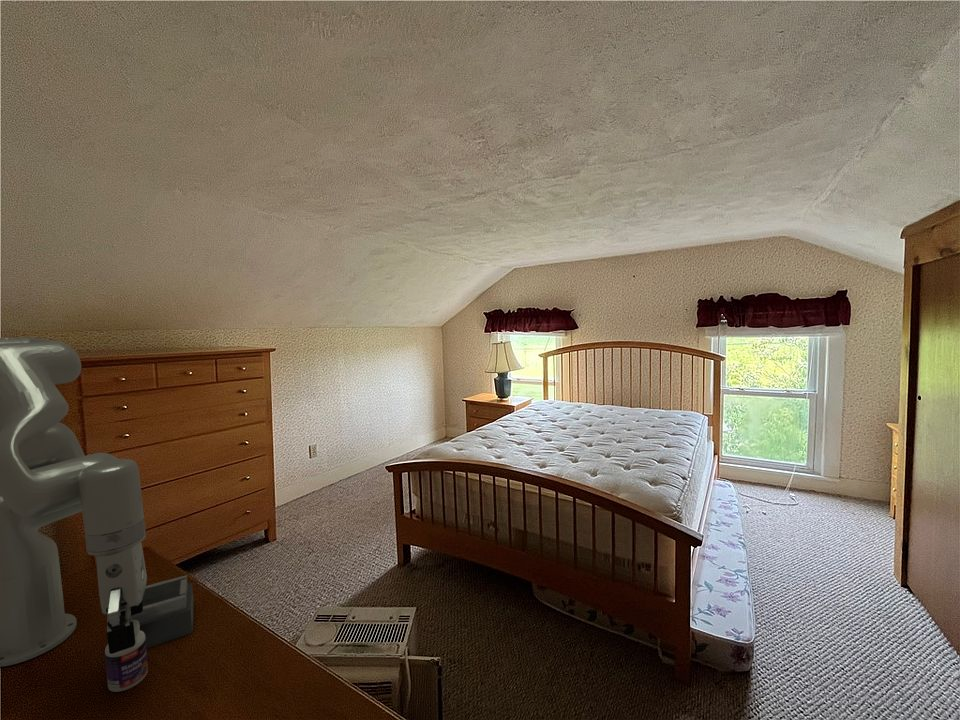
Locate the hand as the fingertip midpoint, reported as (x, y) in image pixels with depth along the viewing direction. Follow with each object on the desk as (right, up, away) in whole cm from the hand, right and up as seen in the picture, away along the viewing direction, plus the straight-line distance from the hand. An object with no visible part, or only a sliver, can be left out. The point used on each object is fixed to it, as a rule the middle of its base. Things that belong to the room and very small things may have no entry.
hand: (127, 630), depth 72 cm
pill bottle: (-1, -9, +1) cm, 10 cm away
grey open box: (-4, -8, +13) cm, 16 cm away
